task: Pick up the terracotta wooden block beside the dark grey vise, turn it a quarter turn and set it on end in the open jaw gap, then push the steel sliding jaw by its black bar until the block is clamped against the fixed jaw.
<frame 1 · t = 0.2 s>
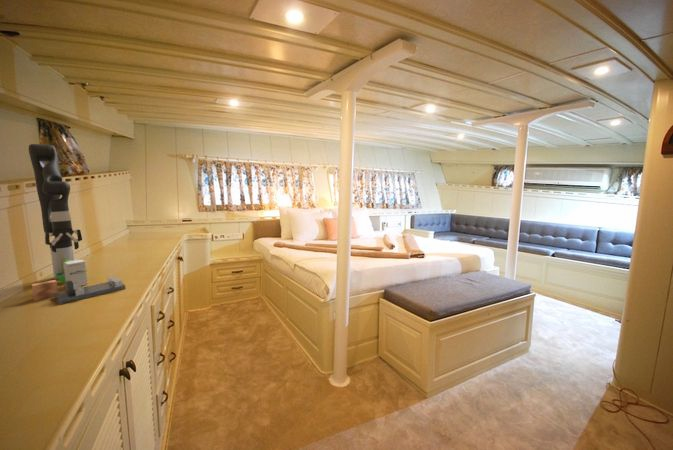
hand: (65, 250, 158), 17 cm above the cabinet, tool pointing down, fingers open, 8 cm apart
supplement box: (77, 285, 157), on the cabinet
block: (46, 297, 141), on the cabinet
vise: (89, 293, 146), on the cabinet
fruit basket: (72, 281, 164), on the cabinet
sliding jaw: (73, 286, 141), point 5 cm above the cabinet, slide at 0.0 cm
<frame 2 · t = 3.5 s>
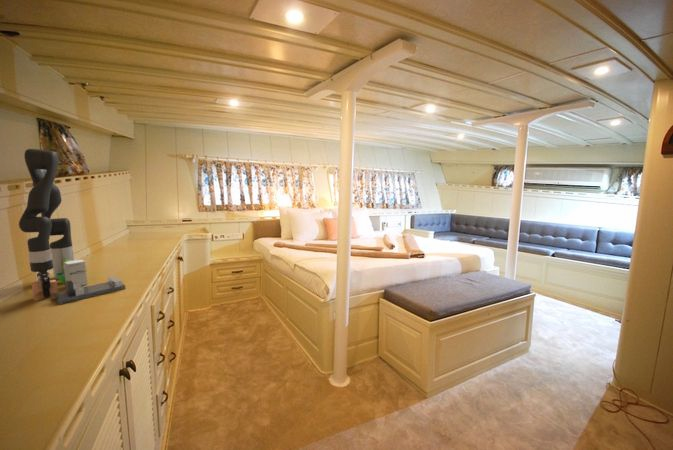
hand: (46, 295, 141), 1 cm above the cabinet, tool pointing down, fingers closed on block, 3 cm apart
block: (46, 296, 141), on the cabinet, touching gripper
everything else where it was.
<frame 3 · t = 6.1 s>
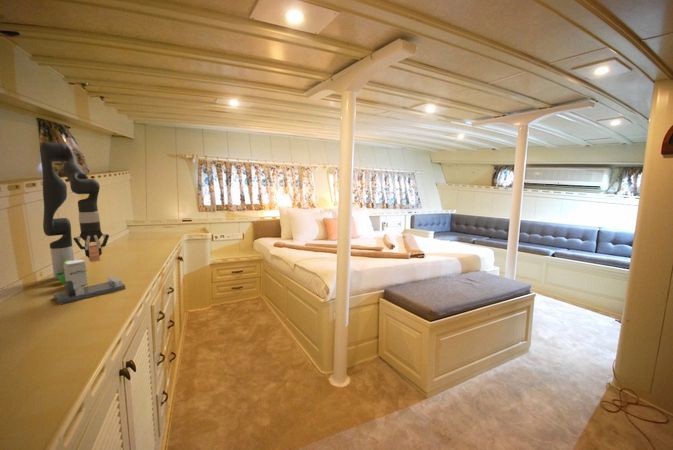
hand: (94, 256, 146), 18 cm above the cabinet, tool pointing down, fingers closed on block, 3 cm apart
block: (94, 259, 147), point 16 cm above the cabinet, touching gripper
everything else where it was.
when the fingers open (5 cm above the cabinet, at t = 8.7 s): block stays where it is, resting on vise.
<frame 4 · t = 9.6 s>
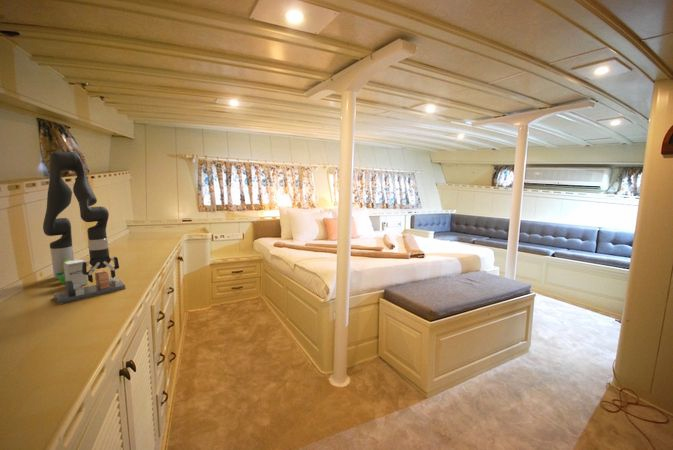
hand: (102, 279, 149), 5 cm above the cabinet, tool pointing down, fingers open, 8 cm apart
block: (102, 286, 150), point 2 cm above the cabinet, touching vise
everything else where it was.
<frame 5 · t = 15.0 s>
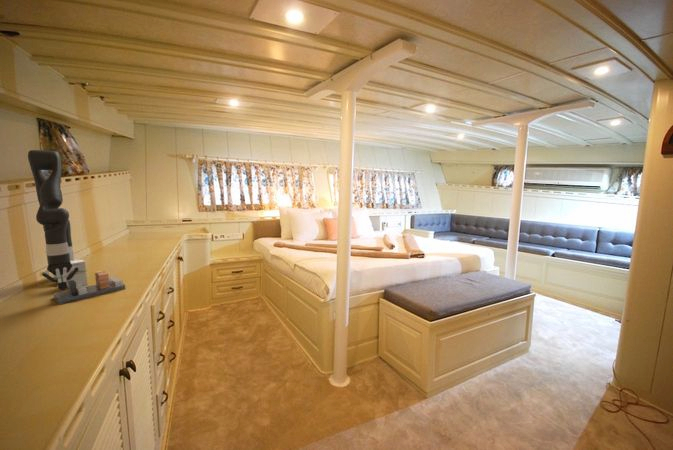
hand: (63, 289, 138), 4 cm above the cabinet, tool pointing down, fingers closed
sliding jaw: (76, 286, 142), point 5 cm above the cabinet, slide at 1.0 cm, touching gripper
everything else where it was.
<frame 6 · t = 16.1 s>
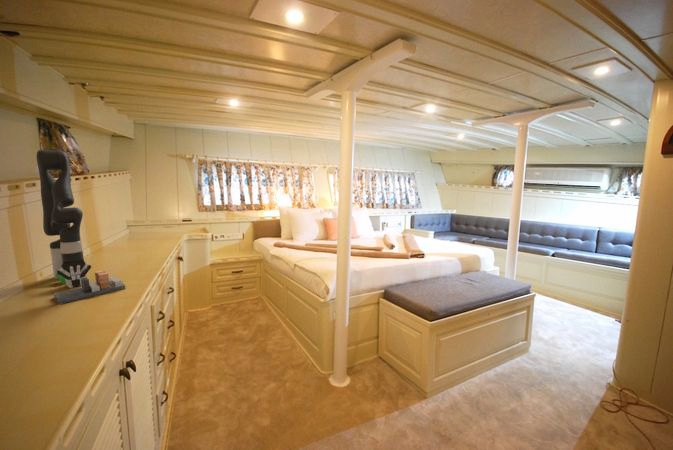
hand: (76, 286, 142), 4 cm above the cabinet, tool pointing down, fingers closed
sliding jaw: (89, 283, 145), point 5 cm above the cabinet, slide at 5.8 cm, touching gripper
everything else where it was.
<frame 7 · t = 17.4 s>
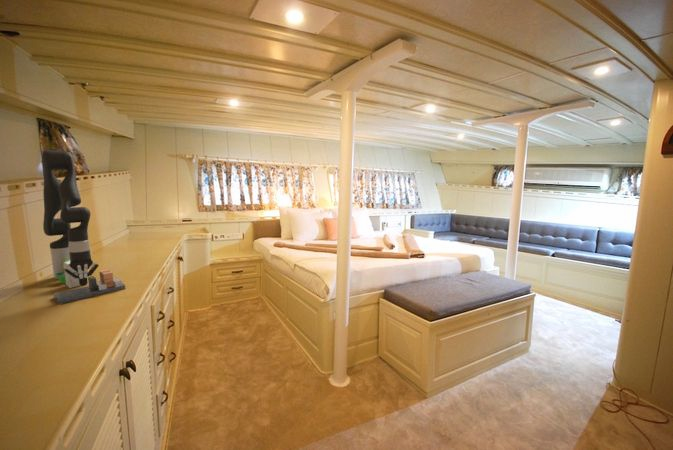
hand: (83, 285, 144), 4 cm above the cabinet, tool pointing down, fingers closed
block: (107, 285, 151), point 2 cm above the cabinet, touching sliding jaw, vise
sliding jaw: (96, 282, 147), point 5 cm above the cabinet, slide at 8.5 cm, touching block, gripper
everything else where it was.
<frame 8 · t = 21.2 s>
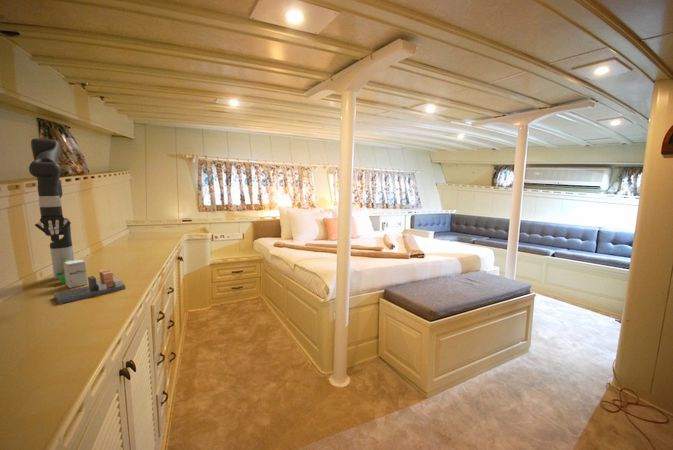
hand: (55, 242, 143), 25 cm above the cabinet, tool pointing down, fingers closed
sliding jaw: (96, 282, 147), point 5 cm above the cabinet, slide at 8.5 cm, touching block
everything else where it was.
at the end: sliding jaw slide at 8.5 cm; block 0.4 cm from the target spot on the vise, point 2.0 cm above the vise's base; block tilted 0° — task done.
